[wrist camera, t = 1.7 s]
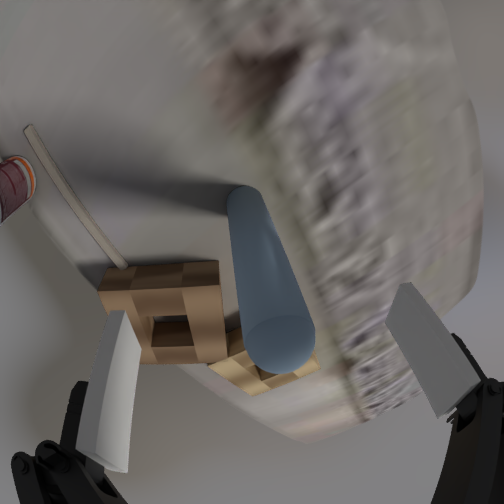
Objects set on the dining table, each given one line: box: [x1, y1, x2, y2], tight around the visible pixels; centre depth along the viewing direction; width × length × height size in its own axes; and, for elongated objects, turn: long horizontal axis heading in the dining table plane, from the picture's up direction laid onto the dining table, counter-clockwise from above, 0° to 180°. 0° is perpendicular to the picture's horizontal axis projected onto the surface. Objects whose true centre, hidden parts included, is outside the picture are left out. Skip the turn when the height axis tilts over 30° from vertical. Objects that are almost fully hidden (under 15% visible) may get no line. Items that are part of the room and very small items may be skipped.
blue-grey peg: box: [227, 186, 315, 374], centre depth 16 cm, size 3×3×15 cm
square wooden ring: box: [97, 261, 228, 364], centre depth 26 cm, size 11×11×4 cm
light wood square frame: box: [208, 327, 321, 396], centre depth 32 cm, size 10×10×4 cm
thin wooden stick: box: [24, 125, 128, 270], centre depth 20 cm, size 16×1×1 cm, turn 25°
